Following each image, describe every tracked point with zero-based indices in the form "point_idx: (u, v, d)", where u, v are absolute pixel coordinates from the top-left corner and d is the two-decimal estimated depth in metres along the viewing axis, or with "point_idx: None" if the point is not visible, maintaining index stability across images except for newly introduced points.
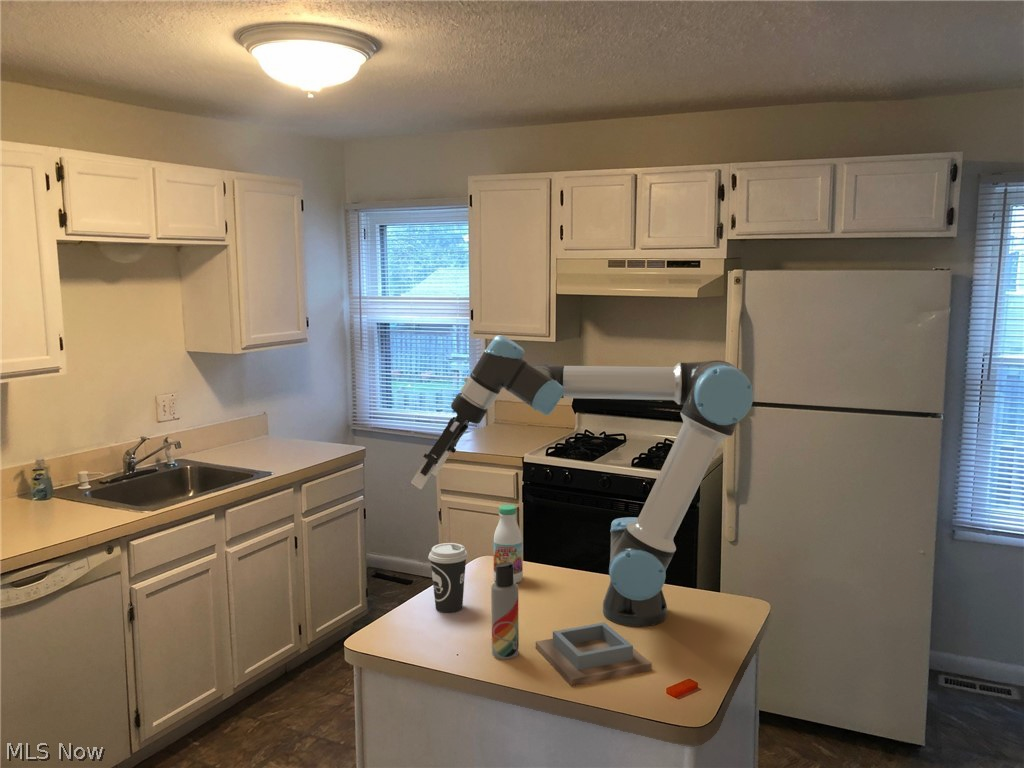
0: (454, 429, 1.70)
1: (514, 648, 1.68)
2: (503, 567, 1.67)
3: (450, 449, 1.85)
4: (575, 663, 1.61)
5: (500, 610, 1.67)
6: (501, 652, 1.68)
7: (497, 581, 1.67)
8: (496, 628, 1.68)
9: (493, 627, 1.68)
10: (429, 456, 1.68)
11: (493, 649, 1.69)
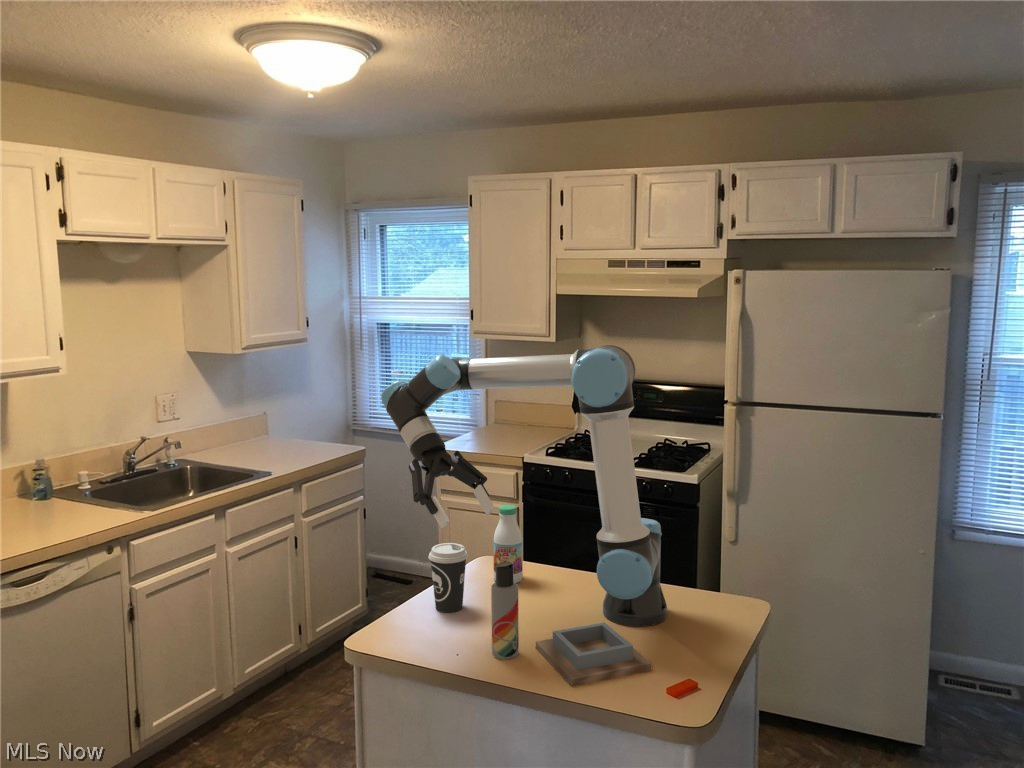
0: (413, 466, 1.75)
1: (514, 648, 1.68)
2: (503, 567, 1.67)
3: (478, 483, 1.82)
4: (575, 663, 1.61)
5: (500, 610, 1.67)
6: (501, 652, 1.68)
7: (497, 581, 1.67)
8: (496, 628, 1.68)
9: (493, 627, 1.68)
10: (414, 498, 1.71)
11: (493, 649, 1.69)
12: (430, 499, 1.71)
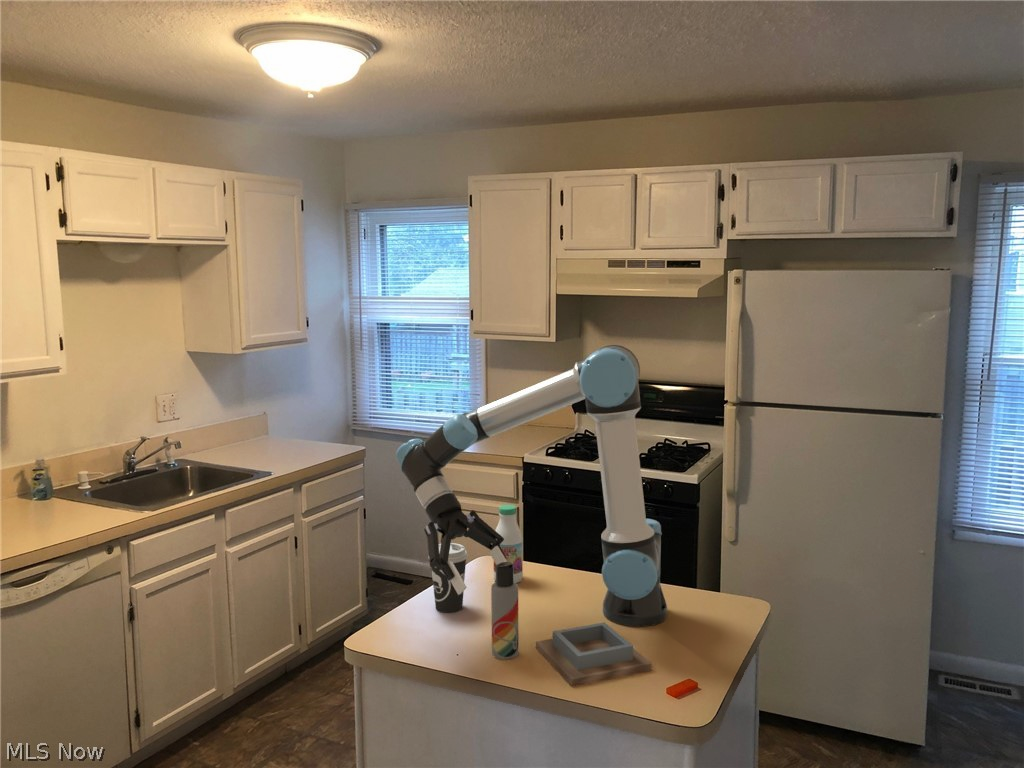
0: (429, 529, 1.73)
1: (514, 648, 1.68)
2: (503, 567, 1.67)
3: (494, 544, 1.79)
4: (575, 663, 1.61)
5: (500, 610, 1.67)
6: (501, 652, 1.68)
7: (497, 581, 1.67)
8: (496, 628, 1.68)
9: (493, 627, 1.68)
10: (431, 563, 1.68)
11: (493, 649, 1.69)
12: (446, 564, 1.68)
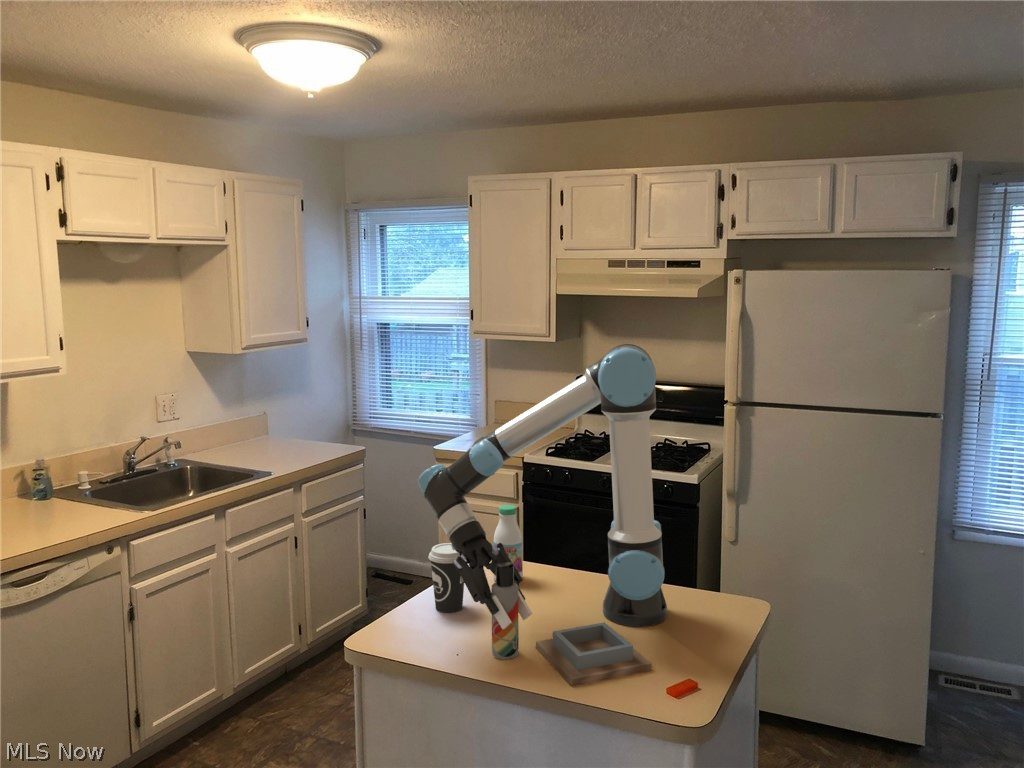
0: (459, 564, 1.68)
1: (514, 648, 1.68)
2: (503, 567, 1.67)
3: None
4: (575, 663, 1.61)
5: None
6: (501, 652, 1.68)
7: (497, 581, 1.67)
8: (496, 628, 1.68)
9: (493, 627, 1.68)
10: (475, 599, 1.66)
11: (493, 649, 1.69)
12: (490, 599, 1.66)
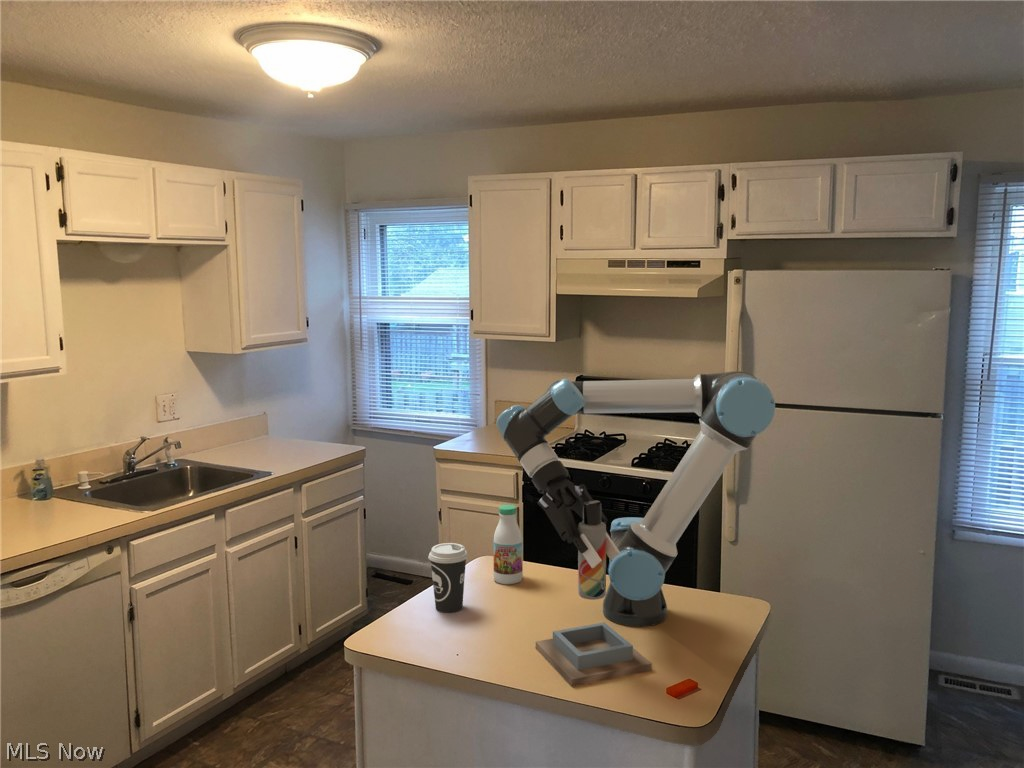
0: (545, 503, 1.64)
1: (602, 588, 1.64)
2: (591, 504, 1.62)
3: None
4: (575, 663, 1.61)
5: None
6: (589, 592, 1.63)
7: (584, 519, 1.63)
8: (584, 567, 1.63)
9: (580, 567, 1.64)
10: (563, 537, 1.62)
11: (580, 590, 1.65)
12: (579, 537, 1.62)
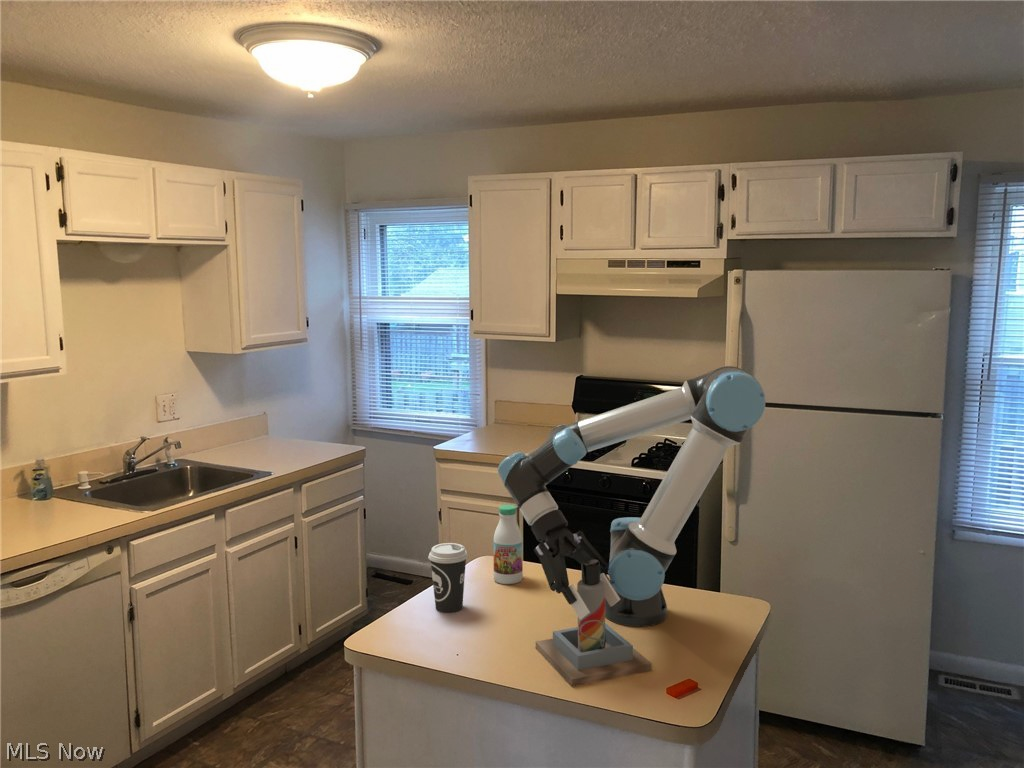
0: (541, 550, 1.65)
1: (602, 646, 1.65)
2: (590, 565, 1.63)
3: (600, 570, 1.70)
4: (575, 663, 1.61)
5: (588, 608, 1.63)
6: (589, 650, 1.65)
7: (583, 579, 1.64)
8: (584, 626, 1.65)
9: (580, 625, 1.65)
10: (552, 587, 1.62)
11: (580, 647, 1.66)
12: (568, 588, 1.62)
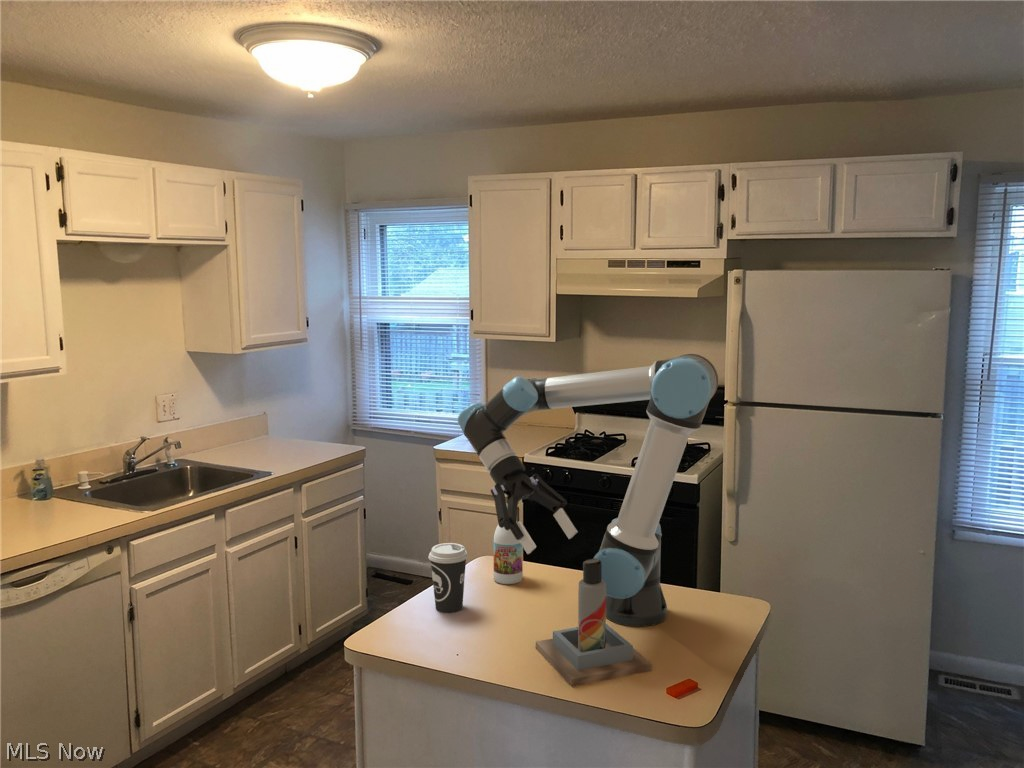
0: (496, 490, 1.73)
1: (602, 646, 1.66)
2: (592, 564, 1.64)
3: (559, 506, 1.80)
4: (575, 663, 1.61)
5: (588, 607, 1.64)
6: (589, 650, 1.65)
7: (585, 578, 1.65)
8: (584, 626, 1.65)
9: (580, 625, 1.66)
10: (500, 523, 1.69)
11: (580, 647, 1.66)
12: (515, 524, 1.69)
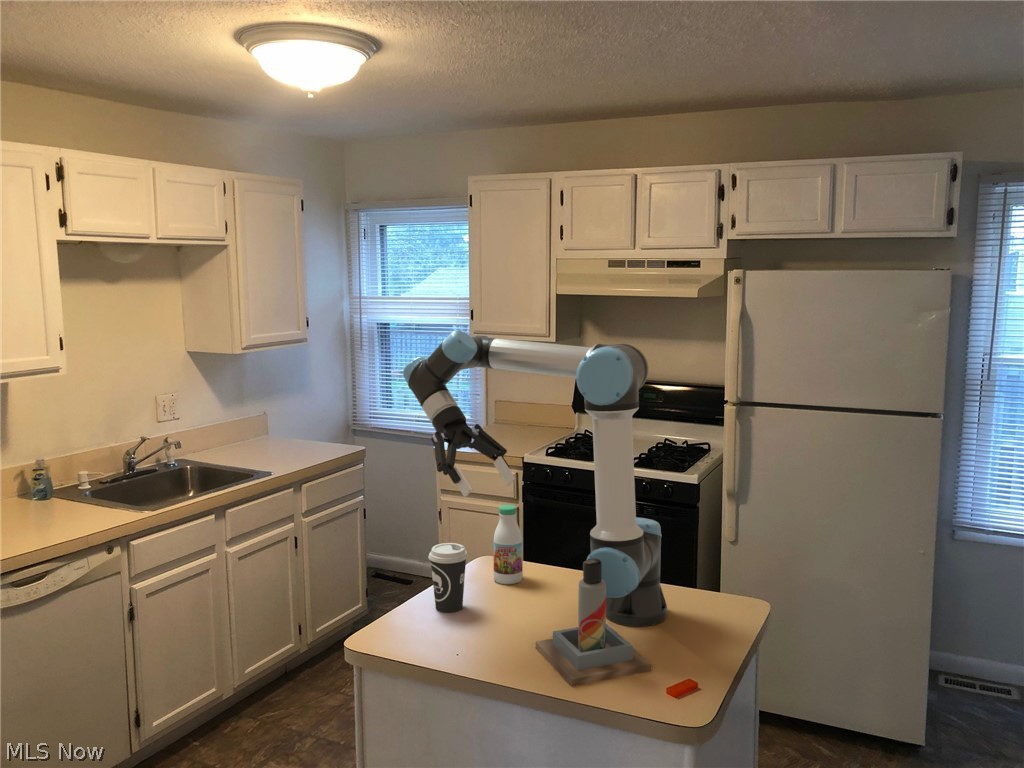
0: (435, 437, 1.81)
1: (602, 646, 1.66)
2: (592, 564, 1.64)
3: (498, 455, 1.87)
4: (575, 663, 1.61)
5: (588, 607, 1.64)
6: (589, 650, 1.65)
7: (585, 578, 1.65)
8: (584, 626, 1.65)
9: (580, 625, 1.66)
10: (438, 468, 1.77)
11: (580, 647, 1.66)
12: (453, 469, 1.77)
